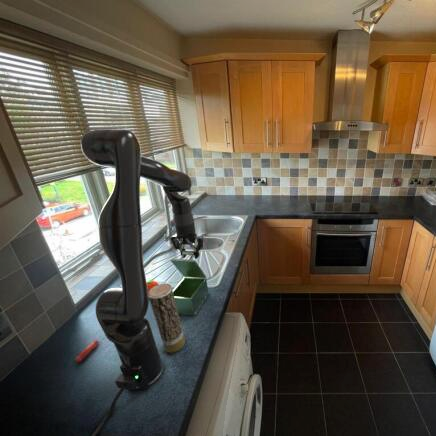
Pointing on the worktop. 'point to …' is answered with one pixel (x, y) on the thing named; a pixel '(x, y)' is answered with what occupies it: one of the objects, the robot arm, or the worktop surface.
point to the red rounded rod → (87, 351)
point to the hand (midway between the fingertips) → (190, 257)
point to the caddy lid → (188, 266)
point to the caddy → (190, 295)
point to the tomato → (151, 284)
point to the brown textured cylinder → (167, 317)
